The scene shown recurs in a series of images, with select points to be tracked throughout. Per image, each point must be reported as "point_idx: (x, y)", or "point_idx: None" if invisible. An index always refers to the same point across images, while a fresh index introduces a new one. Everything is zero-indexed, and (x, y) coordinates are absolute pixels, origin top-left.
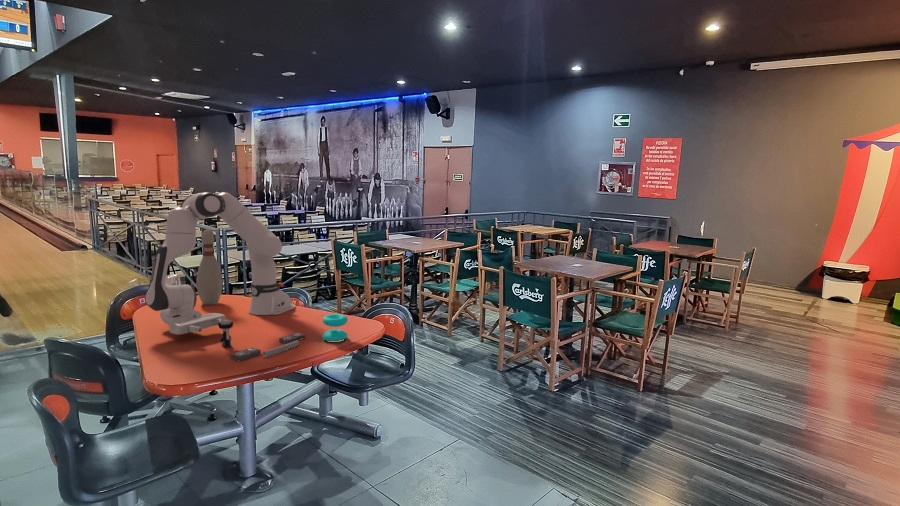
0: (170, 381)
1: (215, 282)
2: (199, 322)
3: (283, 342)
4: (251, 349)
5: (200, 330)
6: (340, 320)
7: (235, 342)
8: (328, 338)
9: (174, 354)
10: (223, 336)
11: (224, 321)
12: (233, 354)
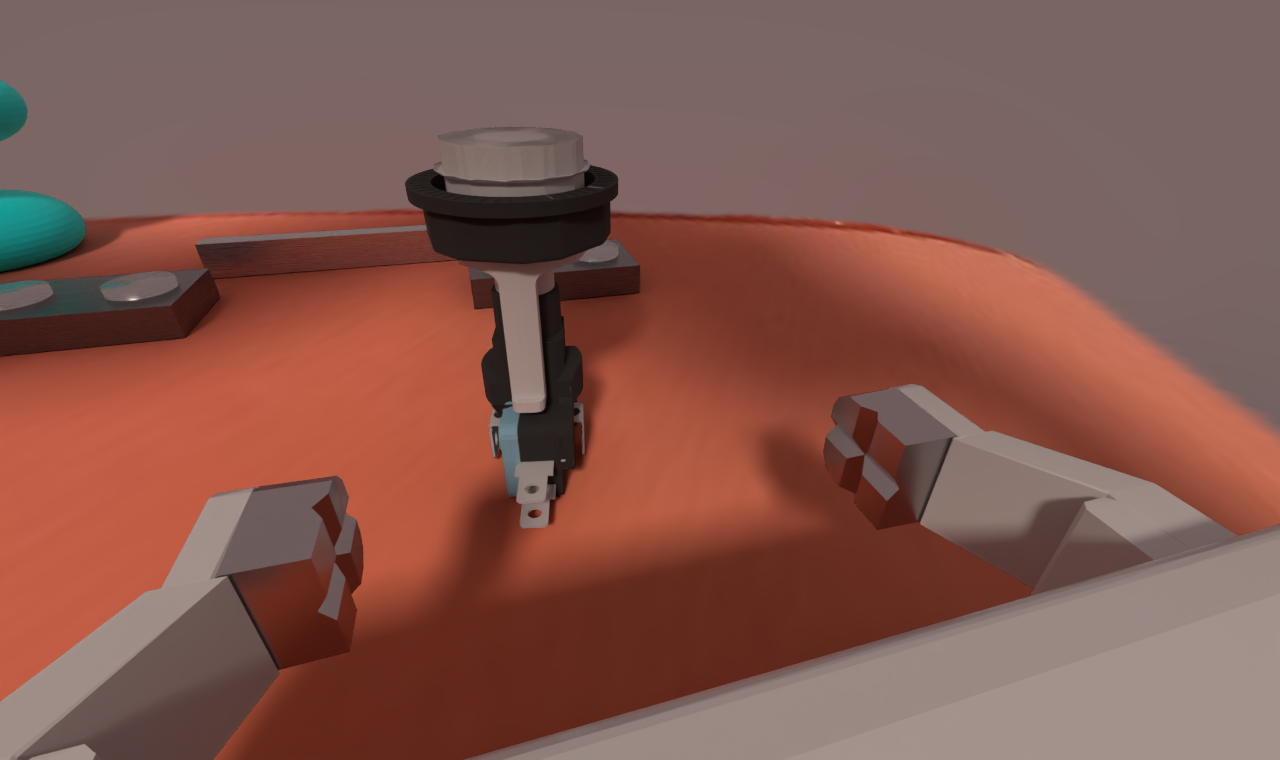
0: (950, 251)
1: None
2: (933, 633)
3: (201, 310)
4: None
5: (847, 438)
6: None
7: (408, 480)
8: (74, 217)
9: None
10: (564, 351)
11: (541, 133)
12: (629, 259)
